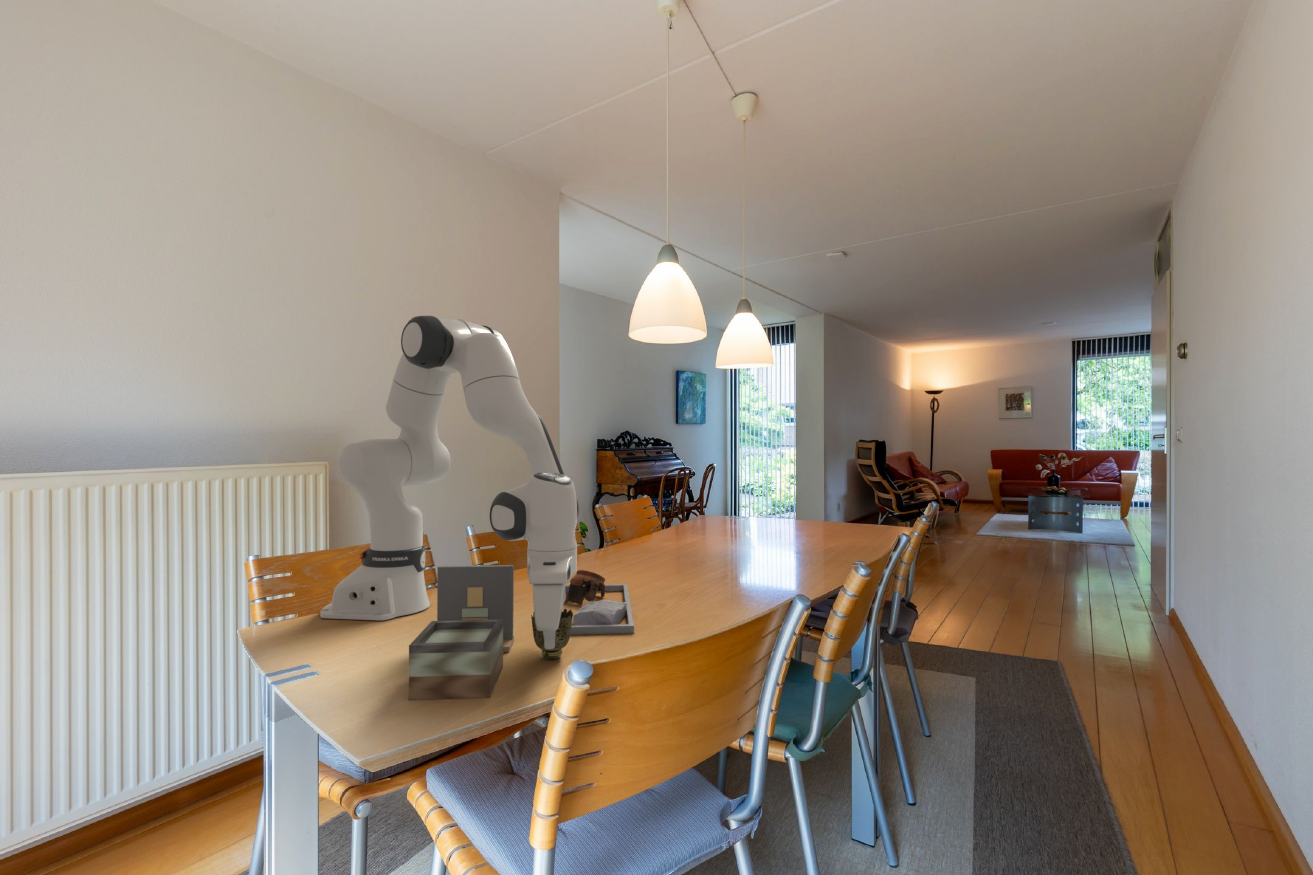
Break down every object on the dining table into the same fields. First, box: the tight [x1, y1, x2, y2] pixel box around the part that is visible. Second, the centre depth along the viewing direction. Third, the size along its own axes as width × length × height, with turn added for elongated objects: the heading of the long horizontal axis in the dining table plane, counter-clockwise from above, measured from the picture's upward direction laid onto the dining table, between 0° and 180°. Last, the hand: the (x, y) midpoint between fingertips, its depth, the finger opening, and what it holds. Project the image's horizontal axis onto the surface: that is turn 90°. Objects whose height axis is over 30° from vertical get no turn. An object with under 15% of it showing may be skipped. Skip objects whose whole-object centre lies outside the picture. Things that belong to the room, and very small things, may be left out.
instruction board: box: [436, 564, 515, 653], centre depth 112 cm, size 14×6×15 cm, turn 95°
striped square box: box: [408, 620, 504, 701], centre depth 96 cm, size 12×12×8 cm
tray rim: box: [565, 583, 635, 636], centre depth 137 cm, size 17×34×2 cm, turn 5°
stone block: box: [572, 599, 627, 626], centre depth 129 cm, size 12×5×10 cm
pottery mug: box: [564, 569, 606, 606], centre depth 145 cm, size 12×10×8 cm
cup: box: [530, 608, 574, 661], centre depth 108 cm, size 8×7×8 cm
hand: (551, 639), depth 107 cm, fingers closed on cup, 7 cm apart
